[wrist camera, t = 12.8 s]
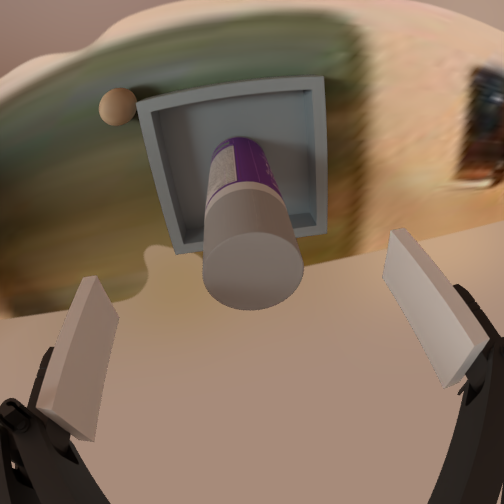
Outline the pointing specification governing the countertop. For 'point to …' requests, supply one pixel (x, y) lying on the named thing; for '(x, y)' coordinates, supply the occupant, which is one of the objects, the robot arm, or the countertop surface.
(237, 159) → the container
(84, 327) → the robot arm
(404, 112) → the countertop surface
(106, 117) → the ball
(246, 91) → the tray
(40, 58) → the countertop surface
